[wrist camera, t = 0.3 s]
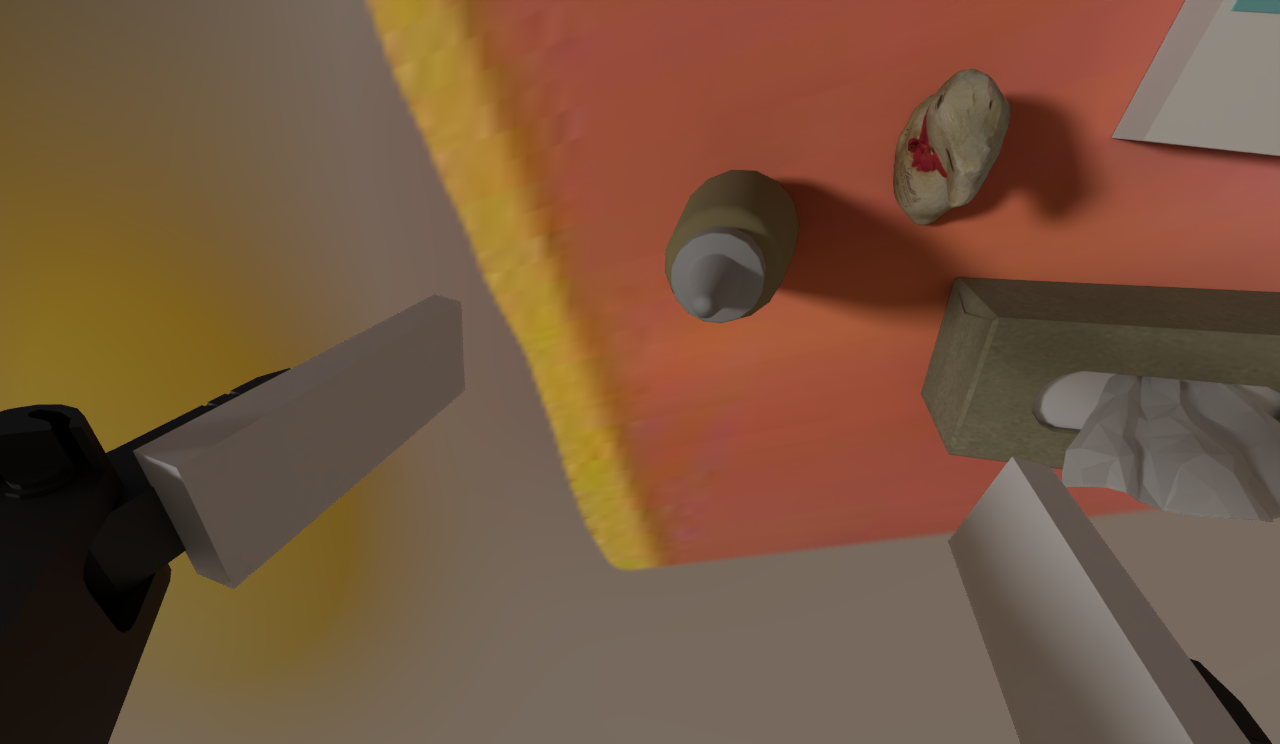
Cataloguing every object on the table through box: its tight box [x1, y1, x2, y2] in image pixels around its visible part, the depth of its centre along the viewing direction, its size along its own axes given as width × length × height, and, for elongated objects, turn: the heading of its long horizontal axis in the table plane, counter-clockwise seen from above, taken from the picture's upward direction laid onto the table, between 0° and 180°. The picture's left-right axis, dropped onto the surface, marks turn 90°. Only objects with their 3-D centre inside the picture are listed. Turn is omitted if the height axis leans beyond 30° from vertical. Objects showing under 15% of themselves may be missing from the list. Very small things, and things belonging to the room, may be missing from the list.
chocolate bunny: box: [893, 69, 1010, 225], centre depth 26 cm, size 6×8×10 cm
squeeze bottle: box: [665, 170, 799, 323], centre depth 28 cm, size 8×8×18 cm
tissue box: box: [921, 277, 1280, 522], centre depth 27 cm, size 19×10×16 cm, turn 92°
